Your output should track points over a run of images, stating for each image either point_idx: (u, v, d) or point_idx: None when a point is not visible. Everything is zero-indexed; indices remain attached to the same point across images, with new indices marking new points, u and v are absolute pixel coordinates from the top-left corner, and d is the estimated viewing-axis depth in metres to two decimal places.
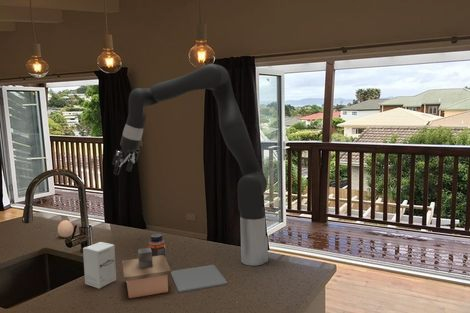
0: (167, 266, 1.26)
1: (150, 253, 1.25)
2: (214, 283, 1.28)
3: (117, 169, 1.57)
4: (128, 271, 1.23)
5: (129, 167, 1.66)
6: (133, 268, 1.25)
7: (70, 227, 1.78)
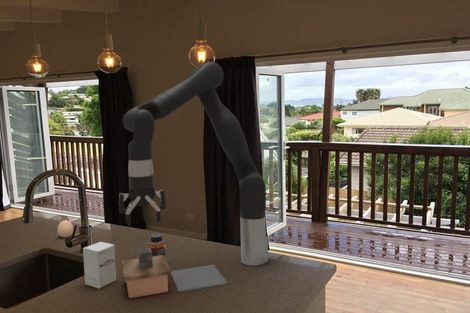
0: (167, 266, 1.26)
1: (150, 253, 1.25)
2: (214, 283, 1.28)
3: None
4: (128, 271, 1.23)
5: None
6: (133, 268, 1.25)
7: (70, 227, 1.78)
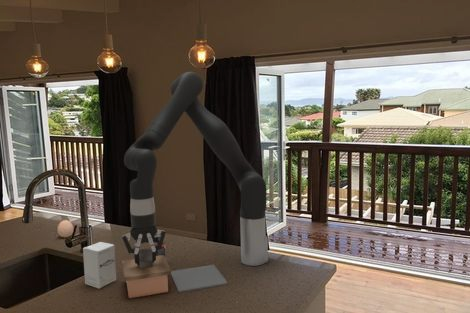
0: (167, 266, 1.26)
1: (150, 253, 1.25)
2: (214, 283, 1.28)
3: None
4: (128, 271, 1.23)
5: None
6: (133, 268, 1.25)
7: (70, 227, 1.78)
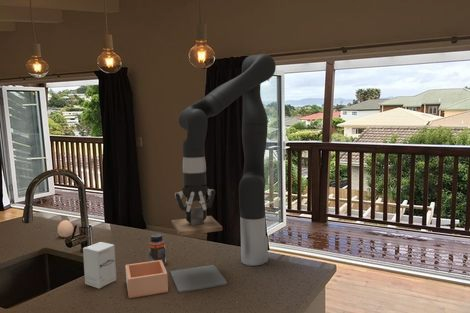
0: (217, 223, 1.30)
1: (201, 210, 1.29)
2: (214, 283, 1.28)
3: None
4: (181, 227, 1.27)
5: None
6: (185, 225, 1.29)
7: (70, 227, 1.78)
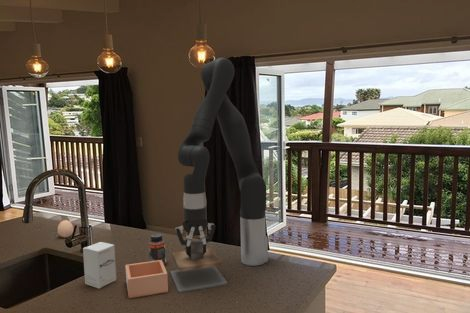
0: (217, 258, 1.31)
1: (201, 245, 1.31)
2: (214, 283, 1.28)
3: None
4: (181, 261, 1.29)
5: None
6: (185, 259, 1.30)
7: (70, 227, 1.78)
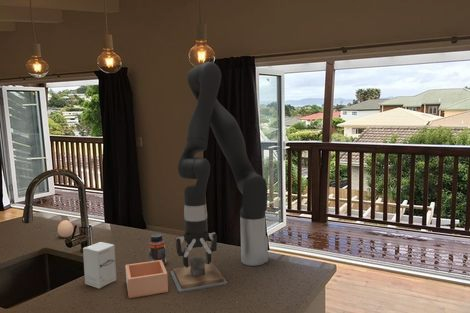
0: (219, 274, 1.32)
1: (203, 261, 1.31)
2: (214, 283, 1.28)
3: None
4: (182, 278, 1.29)
5: None
6: (187, 276, 1.31)
7: (70, 227, 1.78)
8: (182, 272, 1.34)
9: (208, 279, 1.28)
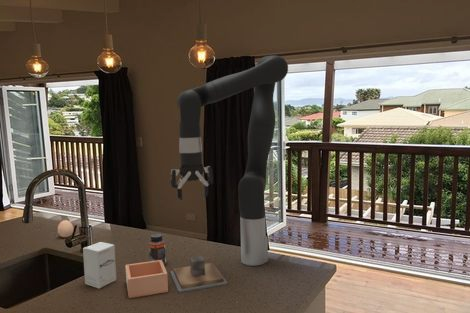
0: (219, 274, 1.32)
1: (203, 261, 1.31)
2: (214, 283, 1.28)
3: None
4: (182, 278, 1.29)
5: None
6: (187, 276, 1.31)
7: (70, 227, 1.78)
8: (182, 272, 1.34)
9: (208, 279, 1.28)
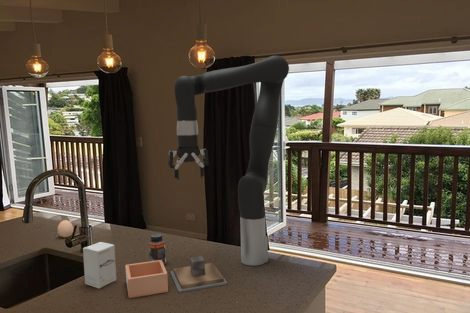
0: (219, 274, 1.32)
1: (203, 261, 1.31)
2: (214, 283, 1.28)
3: None
4: (182, 278, 1.29)
5: None
6: (187, 276, 1.31)
7: (70, 227, 1.78)
8: (182, 272, 1.34)
9: (208, 279, 1.28)
